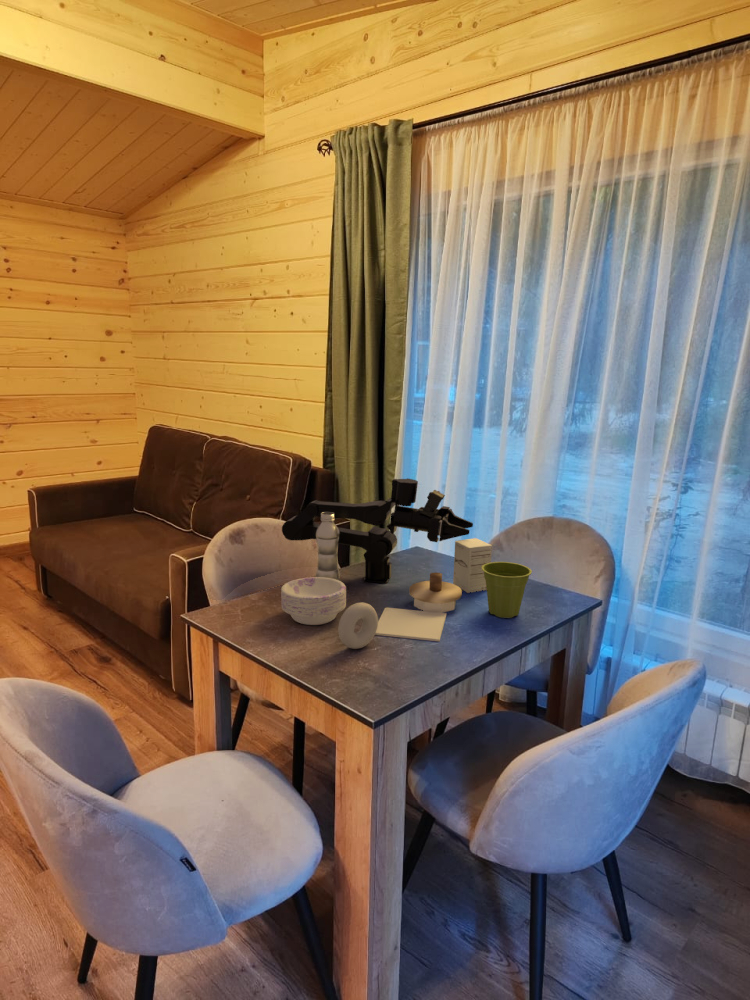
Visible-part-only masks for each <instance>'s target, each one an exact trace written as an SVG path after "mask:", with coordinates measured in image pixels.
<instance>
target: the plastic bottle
mask: <svg viewBox="0 0 750 1000" xmlns="http://www.w3.org/2000/svg"><path fill="white" fill-rule="evenodd" d="M319 518H320V521H321V522H320V523H319V524H320V525H319V526H318V528H317V530H316V539H315V540H316V545H317V546H316V547H317V566H316V567H317V568H316V573H315V577H324V578H331V579H336V580H339V581H340V573H341V572H340V569H339V561H338V549H339V543H338V541H339V529H338V528H337V527H338V525H336V524H335V519H336V518H334V513H333V512H323V513H321V517H319Z"/></svg>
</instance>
